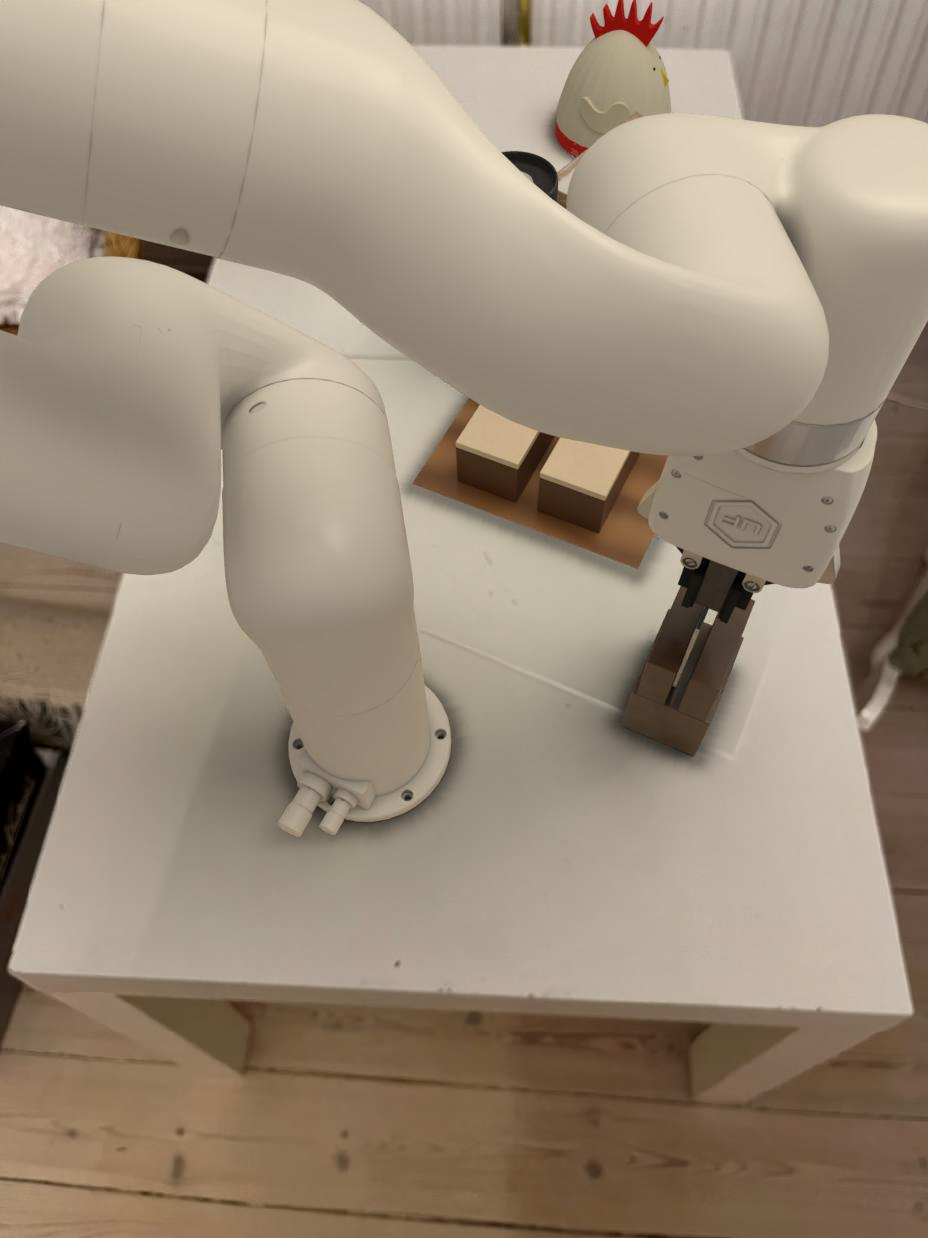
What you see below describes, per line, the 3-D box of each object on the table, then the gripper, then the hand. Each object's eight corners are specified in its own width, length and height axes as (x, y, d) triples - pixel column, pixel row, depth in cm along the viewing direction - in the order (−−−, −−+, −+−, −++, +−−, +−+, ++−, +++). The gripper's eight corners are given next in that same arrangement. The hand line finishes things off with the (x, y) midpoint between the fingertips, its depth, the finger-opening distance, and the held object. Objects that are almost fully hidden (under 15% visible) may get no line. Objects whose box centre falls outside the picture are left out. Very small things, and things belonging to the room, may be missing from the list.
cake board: (636, 573, 80) (637, 568, 79) (412, 488, 85) (412, 483, 84) (690, 461, 86) (691, 455, 85) (478, 388, 91) (478, 382, 91)
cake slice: (599, 533, 81) (605, 496, 76) (536, 510, 82) (539, 472, 78) (639, 455, 85) (648, 415, 81) (579, 434, 87) (584, 393, 82)
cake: (516, 503, 83) (518, 464, 78) (457, 480, 84) (455, 441, 80) (560, 427, 87) (564, 387, 83) (503, 407, 89) (503, 366, 84)
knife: (686, 691, 65) (730, 592, 54) (662, 681, 65) (700, 581, 54) (713, 626, 68) (760, 519, 57) (689, 616, 68) (731, 508, 57)
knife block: (694, 756, 71) (726, 694, 61) (621, 725, 72) (641, 659, 63) (726, 673, 74) (761, 602, 65) (656, 645, 76) (680, 571, 66)
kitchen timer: (651, 174, 108) (673, 41, 95) (540, 152, 111) (547, 19, 98) (680, 110, 115) (704, -23, 102) (575, 90, 118) (585, -42, 105)
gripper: (614, 393, 44) (577, 597, 60) (946, 507, 41) (814, 692, 57) (667, 299, 48) (618, 514, 64) (978, 396, 44) (844, 599, 60)
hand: (711, 596), depth 60 cm, fingers closed on knife, 1 cm apart
